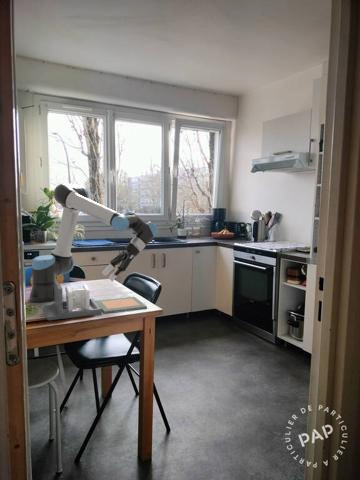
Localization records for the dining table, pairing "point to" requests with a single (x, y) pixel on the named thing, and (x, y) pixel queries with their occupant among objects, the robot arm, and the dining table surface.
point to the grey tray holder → (56, 309)
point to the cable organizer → (77, 298)
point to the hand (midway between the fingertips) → (106, 277)
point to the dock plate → (120, 304)
